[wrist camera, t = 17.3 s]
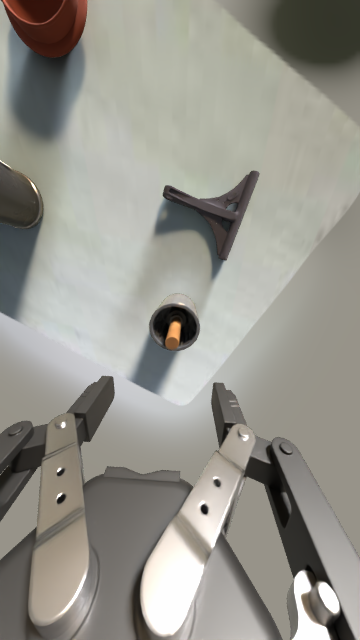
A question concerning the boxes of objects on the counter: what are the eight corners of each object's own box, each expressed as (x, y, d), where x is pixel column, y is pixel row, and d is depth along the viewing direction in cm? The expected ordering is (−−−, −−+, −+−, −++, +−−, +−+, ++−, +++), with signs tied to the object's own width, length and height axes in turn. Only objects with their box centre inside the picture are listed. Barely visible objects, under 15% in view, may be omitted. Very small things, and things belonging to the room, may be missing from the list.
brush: (169, 319, 37) (157, 355, 21) (170, 303, 36) (157, 329, 20) (185, 320, 37) (185, 356, 21) (186, 304, 36) (187, 330, 20)
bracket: (176, 147, 28) (175, 134, 26) (257, 177, 29) (264, 168, 26) (154, 236, 32) (151, 233, 30) (225, 260, 33) (228, 260, 31)
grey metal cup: (159, 327, 38) (149, 349, 27) (160, 292, 36) (149, 302, 25) (194, 329, 38) (197, 352, 27) (197, 294, 35) (201, 304, 25)
